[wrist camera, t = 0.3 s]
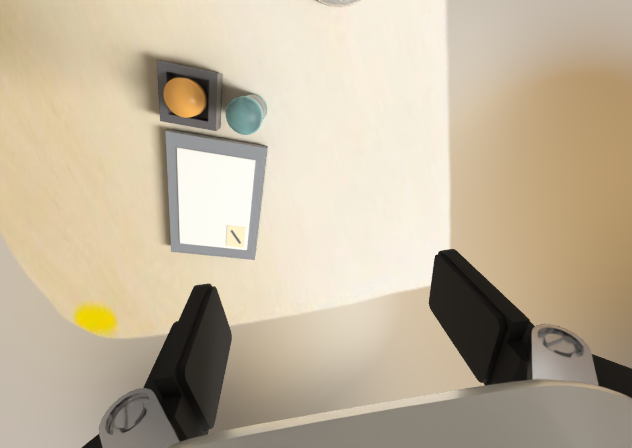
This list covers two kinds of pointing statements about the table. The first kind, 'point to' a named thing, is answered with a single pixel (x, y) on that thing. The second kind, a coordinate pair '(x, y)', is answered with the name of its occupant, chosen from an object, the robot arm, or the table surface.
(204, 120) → the button housing
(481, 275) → the robot arm
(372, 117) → the table surface
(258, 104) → the marker
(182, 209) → the drawing board
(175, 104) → the button
